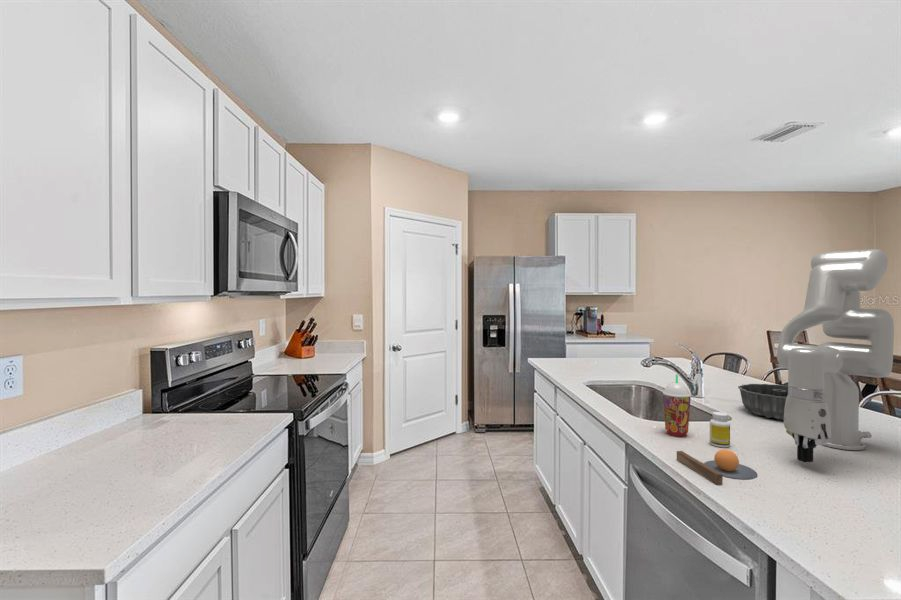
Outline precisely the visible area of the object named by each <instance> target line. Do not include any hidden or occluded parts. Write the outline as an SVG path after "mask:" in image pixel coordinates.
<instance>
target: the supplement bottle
mask: <svg viewBox="0 0 901 600" xmlns="http://www.w3.org/2000/svg"><path fill="white" fill-rule="evenodd" d="M728 418H729V417H728V413H726V412H720V411H713V412H712V418H711V419H710V420H709V444H710V445H712V446H714V447H716V448H717V447H719V448H729V447H730V446H731V423H730V421H729V420H728Z"/></svg>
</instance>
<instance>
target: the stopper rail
mask: <svg viewBox="0 0 901 600" xmlns="http://www.w3.org/2000/svg"><path fill="white" fill-rule="evenodd" d="M676 461H678V462H679V463H681V464H682V465H684V466H686V467H687V468H689V469H691V470H693V471H694V472H695V473H697V474H699V475H700V476H702V477H704V478H705V479H706V480H709V482H712V483H714V484H715V485H717V486H718V485H719V486H720V485H723V474H721V473H719V472H717V471H716V470H714V469H712V468H711V467H709V466H707V465H705V464H704V463H705V462H704V463H703V462H702V461H700V460H698V459H696V458H695V457H693V456H691V455H690V454H688V453H687V452H685V451H683V450H677V451H676Z"/></svg>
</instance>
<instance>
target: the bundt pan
mask: <svg viewBox="0 0 901 600" xmlns="http://www.w3.org/2000/svg"><path fill="white" fill-rule="evenodd" d="M737 388H738V389H739V393H740V397H741V402H742V404H743V407H744V408H745V409H746V410H747V411H748V412H749V413H751V414H753V413H755V414H754V415H756V416H758V417H765V418H767V419H772V418H774V419H776V420H779V421H780V420H781V421H782V420H783V421H784V408H785V402H786V398H787V396H788V385H785V384H772V383H771V384H768V383H748V384H741V385H738V386H737Z"/></svg>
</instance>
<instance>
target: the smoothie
mask: <svg viewBox="0 0 901 600" xmlns="http://www.w3.org/2000/svg"><path fill="white" fill-rule="evenodd" d="M662 398H663V399H662V400H663V413H664V414H663V415H664V425H665V426H664V429H665V431H666V433H667V434H668V435H670V436H673V437H677V436H678V437H682V438H683V437H686V436H687V433H688V432H689V425H690V424H689V423H690V412H691V411H690V410H691V398H692V394H691V393H690V391H689V388H687V387H686V386H685V385H684V384H682V383H681V382H679V374H675V382H672V383H669V384H668V385H667V386H666V387H665V389H664V390H663V391H662ZM678 437H677V438H678Z"/></svg>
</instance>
